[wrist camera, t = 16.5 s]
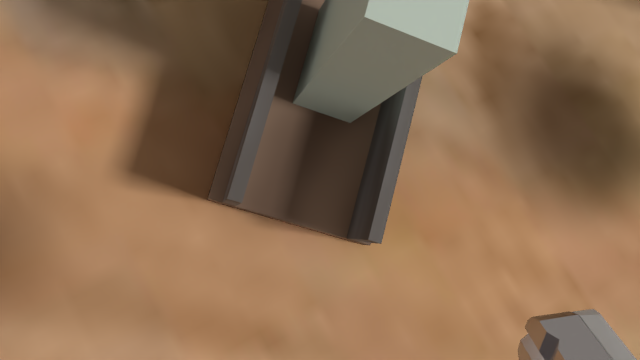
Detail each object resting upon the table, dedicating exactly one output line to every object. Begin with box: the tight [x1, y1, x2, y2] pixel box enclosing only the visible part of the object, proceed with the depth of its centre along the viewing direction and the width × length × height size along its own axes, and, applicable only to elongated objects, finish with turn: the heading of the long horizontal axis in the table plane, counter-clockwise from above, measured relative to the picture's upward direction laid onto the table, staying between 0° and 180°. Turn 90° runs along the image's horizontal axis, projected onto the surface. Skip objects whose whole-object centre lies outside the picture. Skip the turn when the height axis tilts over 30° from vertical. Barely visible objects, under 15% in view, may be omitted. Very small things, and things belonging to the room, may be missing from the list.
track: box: [207, 0, 422, 245], centre depth 23 cm, size 8×16×4 cm, turn 163°
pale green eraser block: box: [293, 0, 469, 123], centre depth 19 cm, size 3×5×10 cm, turn 163°
